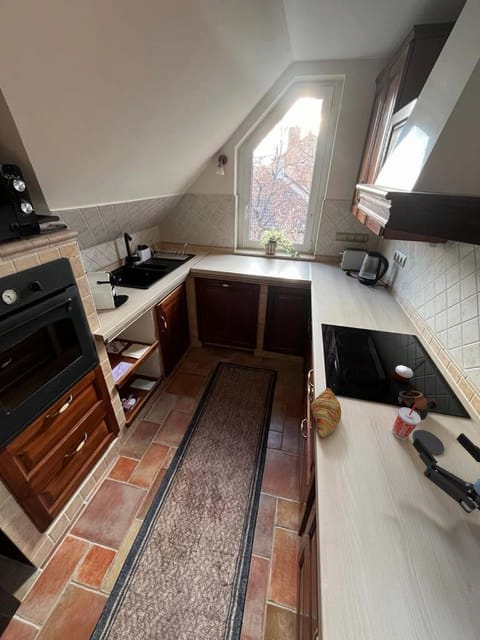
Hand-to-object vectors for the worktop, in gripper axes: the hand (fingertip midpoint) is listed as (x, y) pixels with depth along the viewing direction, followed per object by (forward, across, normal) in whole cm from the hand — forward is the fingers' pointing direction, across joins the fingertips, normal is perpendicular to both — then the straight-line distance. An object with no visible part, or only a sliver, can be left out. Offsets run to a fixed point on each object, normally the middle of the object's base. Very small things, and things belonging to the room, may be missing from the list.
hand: (437, 438), depth 69 cm
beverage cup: (+10, 0, -12) cm, 15 cm away
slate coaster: (+6, +7, -12) cm, 15 cm away
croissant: (+20, -22, -12) cm, 32 cm away
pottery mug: (+18, +12, -12) cm, 24 cm away
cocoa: (+33, +18, -12) cm, 39 cm away
